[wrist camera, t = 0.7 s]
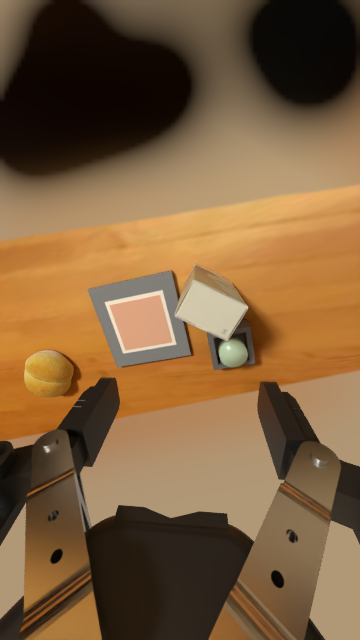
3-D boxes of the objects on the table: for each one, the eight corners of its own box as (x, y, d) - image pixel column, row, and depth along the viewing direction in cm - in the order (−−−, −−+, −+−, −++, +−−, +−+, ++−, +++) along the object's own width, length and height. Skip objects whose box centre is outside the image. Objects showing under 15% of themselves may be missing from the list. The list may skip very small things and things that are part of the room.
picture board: (171, 270, 32) (171, 271, 31) (191, 352, 37) (190, 355, 36) (89, 288, 34) (87, 289, 33) (118, 364, 39) (117, 367, 38)
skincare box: (232, 281, 32) (253, 307, 21) (217, 306, 34) (230, 343, 22) (193, 261, 32) (193, 277, 20) (180, 288, 33) (173, 317, 22)
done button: (243, 335, 32) (246, 340, 31) (246, 358, 34) (249, 364, 32) (216, 339, 33) (217, 345, 31) (220, 362, 34) (221, 369, 33)
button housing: (246, 319, 34) (250, 326, 32) (250, 354, 37) (255, 363, 34) (205, 326, 35) (207, 334, 33) (212, 360, 37) (214, 370, 35)
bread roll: (79, 356, 39) (67, 369, 35) (70, 393, 42) (58, 409, 38) (33, 340, 38) (15, 352, 35) (27, 379, 42) (11, 394, 38)
